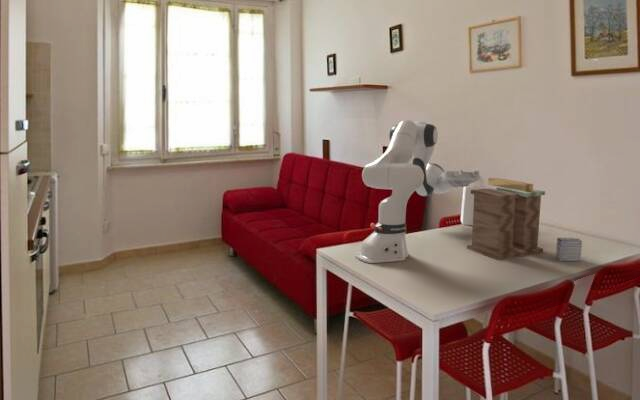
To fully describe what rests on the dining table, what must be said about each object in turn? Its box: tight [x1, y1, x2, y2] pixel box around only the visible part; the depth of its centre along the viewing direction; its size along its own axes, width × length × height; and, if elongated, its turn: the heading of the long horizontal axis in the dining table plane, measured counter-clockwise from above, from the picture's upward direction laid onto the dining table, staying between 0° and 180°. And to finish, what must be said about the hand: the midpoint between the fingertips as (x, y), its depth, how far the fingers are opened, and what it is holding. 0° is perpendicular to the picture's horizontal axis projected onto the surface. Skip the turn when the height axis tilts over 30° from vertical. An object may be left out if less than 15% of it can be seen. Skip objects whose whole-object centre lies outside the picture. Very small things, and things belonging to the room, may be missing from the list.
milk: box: [460, 174, 487, 226], centre depth 253 cm, size 12×12×26 cm
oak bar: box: [487, 177, 534, 192], centre depth 207 cm, size 4×22×3 cm, turn 22°
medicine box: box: [555, 237, 583, 262], centre depth 189 cm, size 8×4×9 cm, turn 84°
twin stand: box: [466, 186, 546, 261], centre depth 202 cm, size 25×18×26 cm
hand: (469, 172), depth 230 cm, fingers open, 8 cm apart
